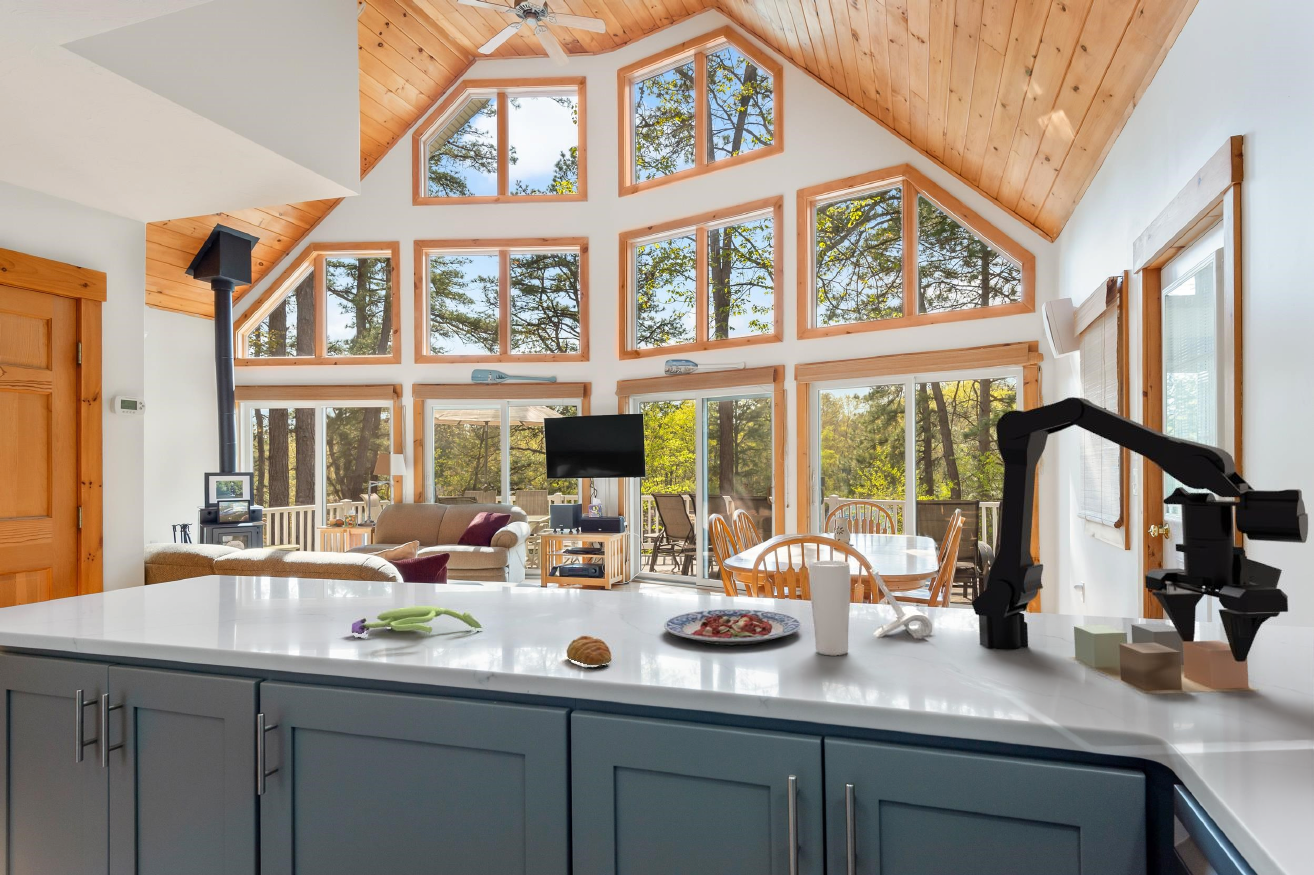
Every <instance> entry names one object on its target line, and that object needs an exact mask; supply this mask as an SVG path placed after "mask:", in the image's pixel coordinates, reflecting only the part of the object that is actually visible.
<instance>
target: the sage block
mask: <svg viewBox="0 0 1314 875" xmlns="http://www.w3.org/2000/svg"><path fill="white" fill-rule="evenodd" d="M1073 636H1074V657H1075V659H1077V660H1079V661H1081V662H1084V663H1086V664H1088V665H1090V666H1092V667H1094V668H1102V667H1120V650H1119V644H1125V643H1128V633H1127V631H1123V630H1120V629H1118V628H1115V627H1112V626H1110V625H1106V624H1103V625H1102V624H1099V625H1097V624H1096V625H1074V626H1073Z"/></svg>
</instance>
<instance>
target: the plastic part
mask: <svg viewBox="0 0 1314 875" xmlns="http://www.w3.org/2000/svg"><path fill="white" fill-rule="evenodd" d="M869 572H870V574H871V575H872V577H873V578H874V580H875V581H876V583H877V585H878V586H879V588H880V589H881V591H882V594H884V597H885V598H886V599H887V602H888V603H889V604H890V606H891V608H892V610H893V611H894V613H895V614H896V615H897V617H896V620H894V621H892V622H891V623H887V624H885V625H882V624H881V625H879V626H878V627H877V628H878V629H876V630H875V632H873V634H872V635H873V636H874V637H875V636H876V638H877V639H879V638H880V639H881V638H883V637H884V636H885V635H887V634H889V633H891V632H893V631H894V630H897V629H899V628H900V627H902V626H903V627H904V628H905V629H906V631H907V632H909V634H911V636H913V638H914V639H925V637H924V636H927V637H928V636H931V634H932V632H933V623H932V621H931V620H930V618H928V617H927V615H925V614H924V613H923V612H922V610H920V609H919V608H918V607H915V606H912V605H911V606H904V607H901V606H900V604H899V603H898V601H897V599H896V598H895V596H894V595H893V594H892V592H891V591H890V590H889V589H888V588H887V586H886V583H885V581H884V580H883V579H882V577H881V576H880V573H879V571H878V570H876V571H875V568H874V567H872V568H871V569H869ZM911 622H917V624H916V625H910V624H911Z"/></svg>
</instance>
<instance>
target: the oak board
mask: <svg viewBox="0 0 1314 875" xmlns="http://www.w3.org/2000/svg"><path fill="white" fill-rule="evenodd" d="M1068 658H1070V659H1071V660H1073V661H1075V662H1077V663H1080V664H1082V665H1084V666H1086V667H1088V668H1090V669H1092V670H1095V671H1097V672H1099V673H1101V674H1103V675H1106V677H1107V676H1108V677H1110V678H1112V679H1114V680H1116V681H1118V682H1121V683H1123V684H1125V685H1126V686H1129V687H1131V688H1133V689H1135V690H1138V691H1140V692H1142V693H1143V694H1145V695H1147V694H1148V695H1149V694H1150V695H1151V694H1152V695H1153V694H1173V693H1174V694H1177V693H1179V694H1181V693H1205V692H1206V693H1207V692H1209V693H1212V692H1238V691H1239V692H1240V691H1259V689H1257V688H1255V687H1252V686H1250V685H1249V688H1217V689H1211V688H1209V687H1206V686H1204V685H1201V684H1199V683H1196V682H1194V681H1191V680H1189V679H1186V678H1184V665H1181V679H1182V690H1155V691H1144V690H1142V689H1140V688H1138V687H1135V686H1133V685H1131V684H1129V683H1127V682H1125V681H1123V680H1121V672H1120V667H1102V668H1094V667H1092V666H1090V665H1088V664H1086V663H1084V662H1081V661H1079V660H1077V659H1075V656H1068Z"/></svg>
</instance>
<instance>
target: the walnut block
mask: <svg viewBox="0 0 1314 875" xmlns="http://www.w3.org/2000/svg"><path fill="white" fill-rule="evenodd" d="M1119 650H1120V672H1121V680H1123V681H1125V682H1127V683H1129V684H1131V685H1133V686H1135V687H1138V688H1140V689H1142V690H1144V691H1155V690H1182V679H1181V658H1180V652H1179V651H1177V650H1174V649H1171V648H1168V647H1165V646H1163V645H1160V644H1157V643H1132V642H1130V643H1129V642H1127V643H1125V644H1119Z"/></svg>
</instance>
